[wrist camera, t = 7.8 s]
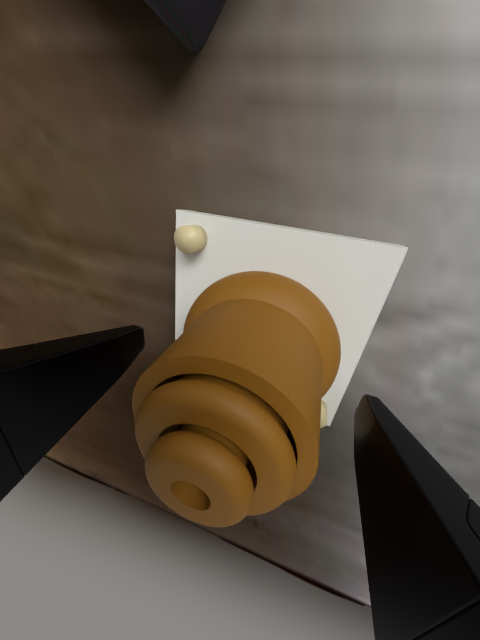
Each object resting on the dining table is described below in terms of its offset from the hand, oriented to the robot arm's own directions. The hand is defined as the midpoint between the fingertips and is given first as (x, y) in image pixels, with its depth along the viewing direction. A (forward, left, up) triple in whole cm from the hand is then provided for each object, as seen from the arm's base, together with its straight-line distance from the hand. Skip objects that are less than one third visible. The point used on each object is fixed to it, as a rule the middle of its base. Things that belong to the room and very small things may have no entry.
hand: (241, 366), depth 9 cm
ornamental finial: (0, +1, -4) cm, 4 cm away
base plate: (0, 0, -4) cm, 4 cm away
